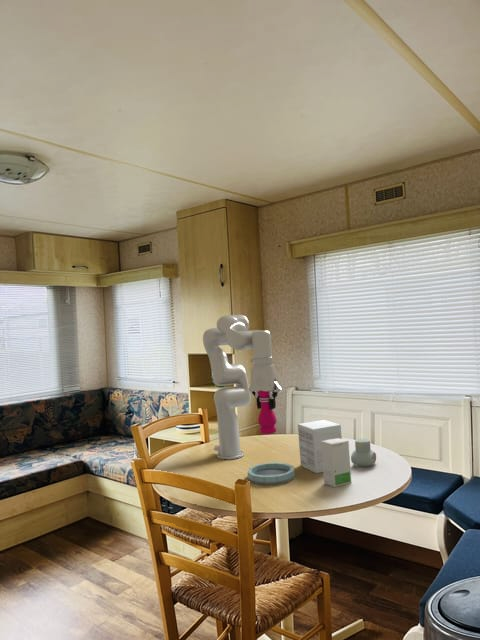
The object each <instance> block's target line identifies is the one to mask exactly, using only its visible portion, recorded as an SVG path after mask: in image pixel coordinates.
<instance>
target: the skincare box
mask: <svg viewBox="0 0 480 640" xmlns="http://www.w3.org/2000/svg"><path fill="white" fill-rule="evenodd" d="M321 444H322V458H323V472H322V473H323V483H324V484H325V485H327V486H330V487H332V488H337V487H342V486H344V485H349V484H352V471H351V470H352V469H351V455H350V446H349V445H350V444H349V440H347V439H344V438H342V439H339V438H337V439H329V440H325V441H321Z"/></svg>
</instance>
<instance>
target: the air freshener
mask: <svg viewBox="0 0 480 640" xmlns="http://www.w3.org/2000/svg"><path fill="white" fill-rule="evenodd" d="M354 443H355V444H354V447H355V450H353V452H351V455H350V462H351V463H352V464H353V465H354V466H357V467H360V468H368V467H369V466H370V467H372V466H373V465H375V464H376V461H377V453H376V452H375V451H373V450H372V449H371V441H370V440H369V439H367V438H358V439H355V441H354Z"/></svg>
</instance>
